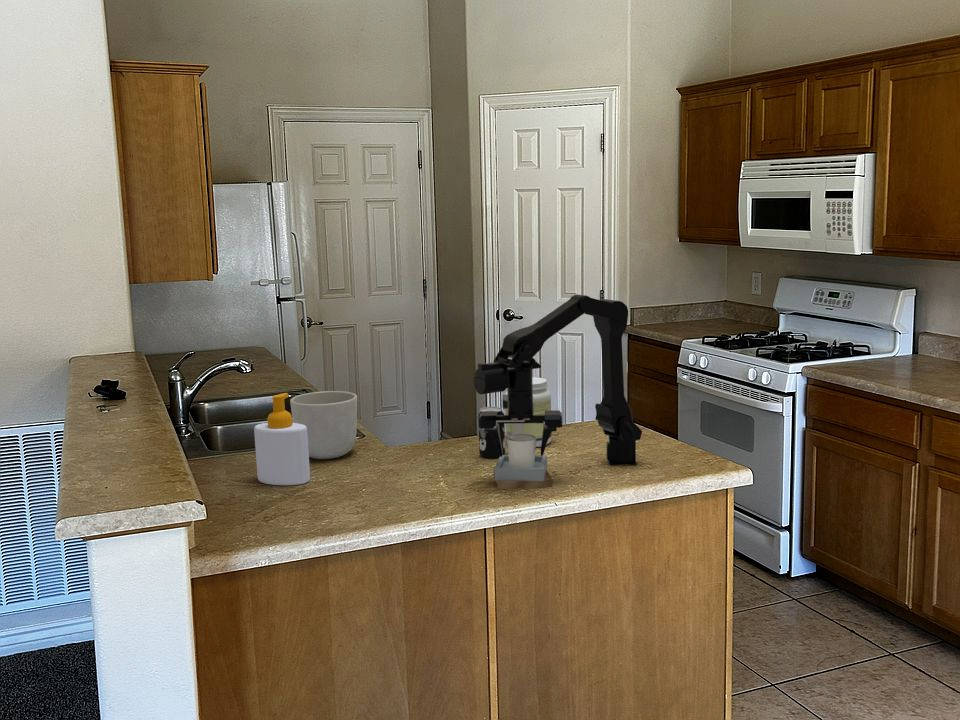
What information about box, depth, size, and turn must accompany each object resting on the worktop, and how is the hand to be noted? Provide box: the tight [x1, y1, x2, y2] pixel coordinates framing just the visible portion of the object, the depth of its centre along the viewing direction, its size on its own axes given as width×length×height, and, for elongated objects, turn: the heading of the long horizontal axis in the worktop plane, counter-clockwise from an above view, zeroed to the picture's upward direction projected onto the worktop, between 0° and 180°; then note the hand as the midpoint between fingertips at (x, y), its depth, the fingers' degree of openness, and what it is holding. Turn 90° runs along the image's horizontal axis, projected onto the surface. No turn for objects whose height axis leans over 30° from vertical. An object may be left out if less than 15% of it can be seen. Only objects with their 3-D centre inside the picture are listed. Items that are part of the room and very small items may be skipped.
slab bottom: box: [493, 466, 553, 490], centre depth 204 cm, size 12×12×2 cm
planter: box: [289, 390, 358, 460], centre depth 229 cm, size 17×17×15 cm
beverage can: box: [477, 406, 506, 459], centre depth 225 cm, size 7×7×12 cm
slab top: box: [494, 454, 548, 481], centre depth 204 cm, size 11×11×3 cm
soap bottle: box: [253, 392, 311, 486], centre depth 208 cm, size 13×8×20 cm, turn 71°
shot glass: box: [506, 434, 537, 468], centre depth 203 cm, size 7×7×7 cm
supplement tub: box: [504, 376, 553, 448], centre depth 235 cm, size 12×12×17 cm
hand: (521, 456), depth 203 cm, fingers open, 9 cm apart
